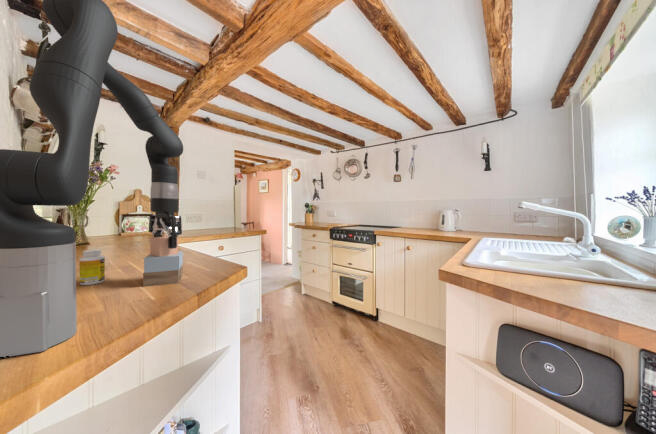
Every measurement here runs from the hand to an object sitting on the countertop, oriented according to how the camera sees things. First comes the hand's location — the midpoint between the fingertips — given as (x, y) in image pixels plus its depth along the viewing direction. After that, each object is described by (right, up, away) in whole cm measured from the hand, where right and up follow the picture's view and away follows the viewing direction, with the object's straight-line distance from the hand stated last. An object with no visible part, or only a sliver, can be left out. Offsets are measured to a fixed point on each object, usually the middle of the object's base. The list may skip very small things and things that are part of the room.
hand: (165, 247), depth 76 cm
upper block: (0, -7, 0) cm, 7 cm away
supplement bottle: (-21, -11, -3) cm, 24 cm away
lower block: (0, -11, 0) cm, 11 cm away
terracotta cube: (0, -2, 0) cm, 2 cm away
